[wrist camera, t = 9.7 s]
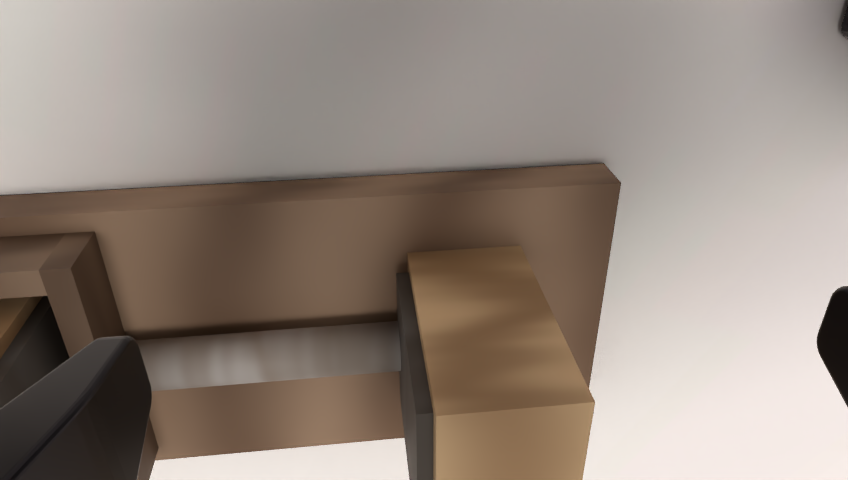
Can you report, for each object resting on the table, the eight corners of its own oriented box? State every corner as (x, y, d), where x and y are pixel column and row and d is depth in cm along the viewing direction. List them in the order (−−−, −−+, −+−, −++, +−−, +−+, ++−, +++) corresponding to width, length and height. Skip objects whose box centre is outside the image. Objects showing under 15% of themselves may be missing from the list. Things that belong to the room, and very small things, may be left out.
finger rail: (603, 163, 21) (742, 320, 14) (571, 393, 26) (661, 598, 19) (-195, 205, 19) (-525, 419, 12) (-65, 449, 24) (-240, 705, 17)
